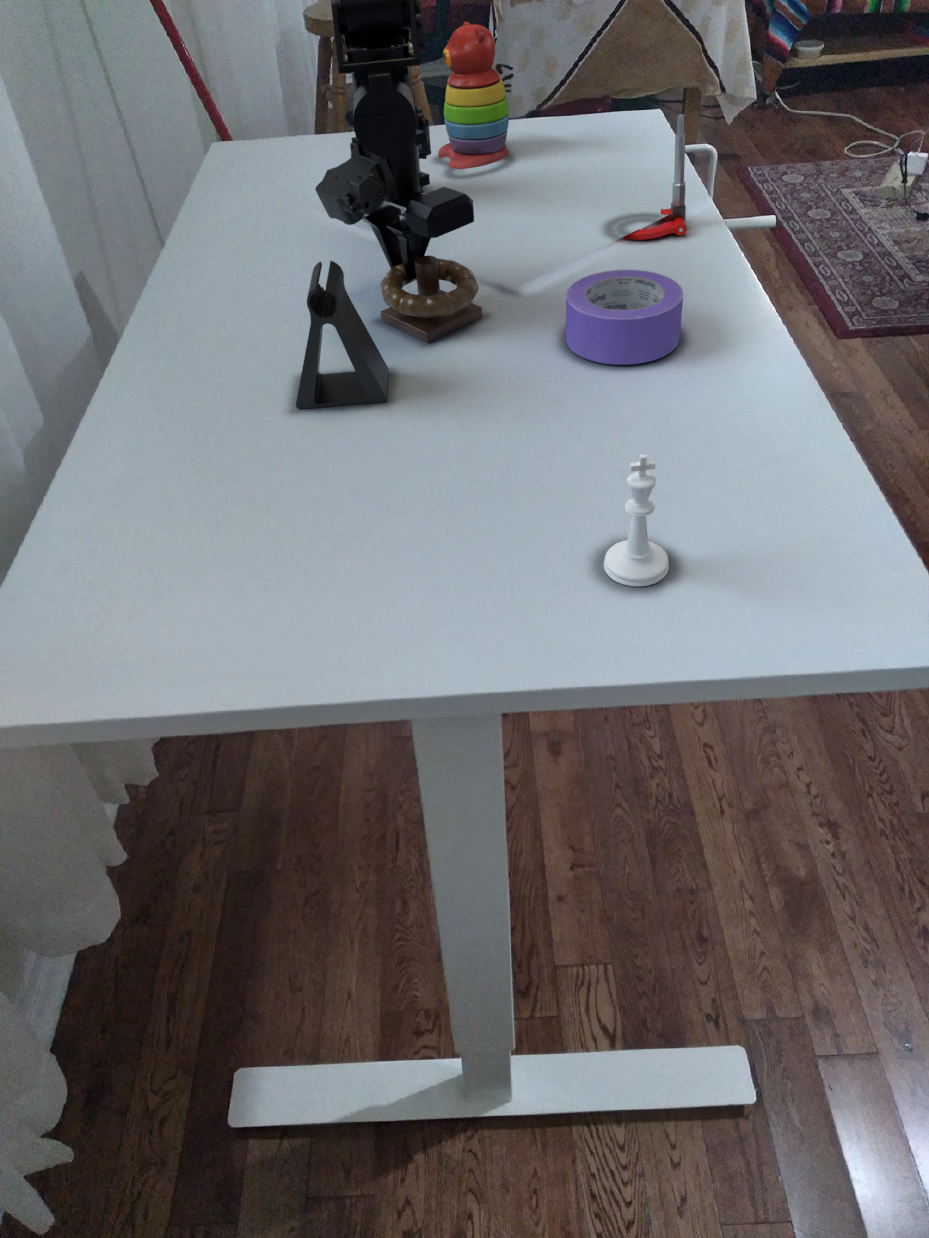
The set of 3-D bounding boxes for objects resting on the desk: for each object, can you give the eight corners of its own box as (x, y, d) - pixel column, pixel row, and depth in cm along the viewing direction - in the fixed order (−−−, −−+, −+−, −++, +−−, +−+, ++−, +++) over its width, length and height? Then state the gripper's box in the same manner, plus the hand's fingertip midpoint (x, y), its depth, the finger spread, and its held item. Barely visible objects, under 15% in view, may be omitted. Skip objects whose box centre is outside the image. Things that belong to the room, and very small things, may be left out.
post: (381, 321, 108) (373, 262, 103) (435, 296, 111) (430, 238, 107) (427, 343, 103) (421, 283, 98) (482, 317, 107) (479, 257, 102)
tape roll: (581, 308, 106) (582, 264, 103) (688, 318, 103) (693, 272, 100) (552, 360, 98) (552, 313, 95) (667, 372, 95) (671, 324, 92)
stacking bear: (435, 156, 147) (424, 21, 135) (499, 146, 148) (494, 12, 136) (452, 179, 139) (441, 38, 127) (519, 168, 141) (515, 28, 129)
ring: (362, 295, 106) (361, 276, 104) (434, 264, 111) (433, 245, 109) (424, 332, 101) (423, 313, 99) (497, 297, 105) (497, 279, 104)
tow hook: (611, 246, 119) (688, 239, 118) (609, 134, 110) (692, 125, 109) (607, 220, 125) (680, 213, 124) (605, 112, 117) (683, 103, 115)
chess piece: (598, 549, 76) (601, 440, 69) (660, 542, 76) (669, 433, 69) (610, 590, 72) (615, 479, 65) (675, 583, 72) (687, 472, 66)
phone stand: (389, 372, 99) (373, 257, 91) (387, 402, 95) (370, 284, 87) (302, 378, 99) (278, 264, 91) (296, 409, 95) (270, 292, 87)
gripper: (268, 128, 98) (297, 277, 109) (381, 166, 87) (401, 327, 98) (355, 101, 103) (374, 246, 114) (472, 133, 92) (482, 289, 103)
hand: (404, 276), depth 107 cm, fingers closed on ring, 2 cm apart
